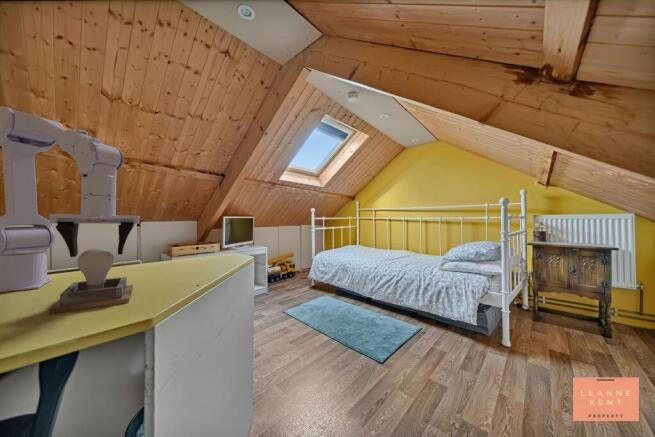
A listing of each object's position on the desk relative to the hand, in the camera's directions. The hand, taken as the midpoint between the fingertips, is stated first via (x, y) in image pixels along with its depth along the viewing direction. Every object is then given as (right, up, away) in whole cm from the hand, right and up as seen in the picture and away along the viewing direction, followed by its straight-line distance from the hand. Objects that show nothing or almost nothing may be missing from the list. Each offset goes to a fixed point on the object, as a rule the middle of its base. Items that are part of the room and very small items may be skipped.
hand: (98, 255), depth 54 cm
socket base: (0, -10, 0) cm, 10 cm away
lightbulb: (-1, -10, 0) cm, 10 cm away
